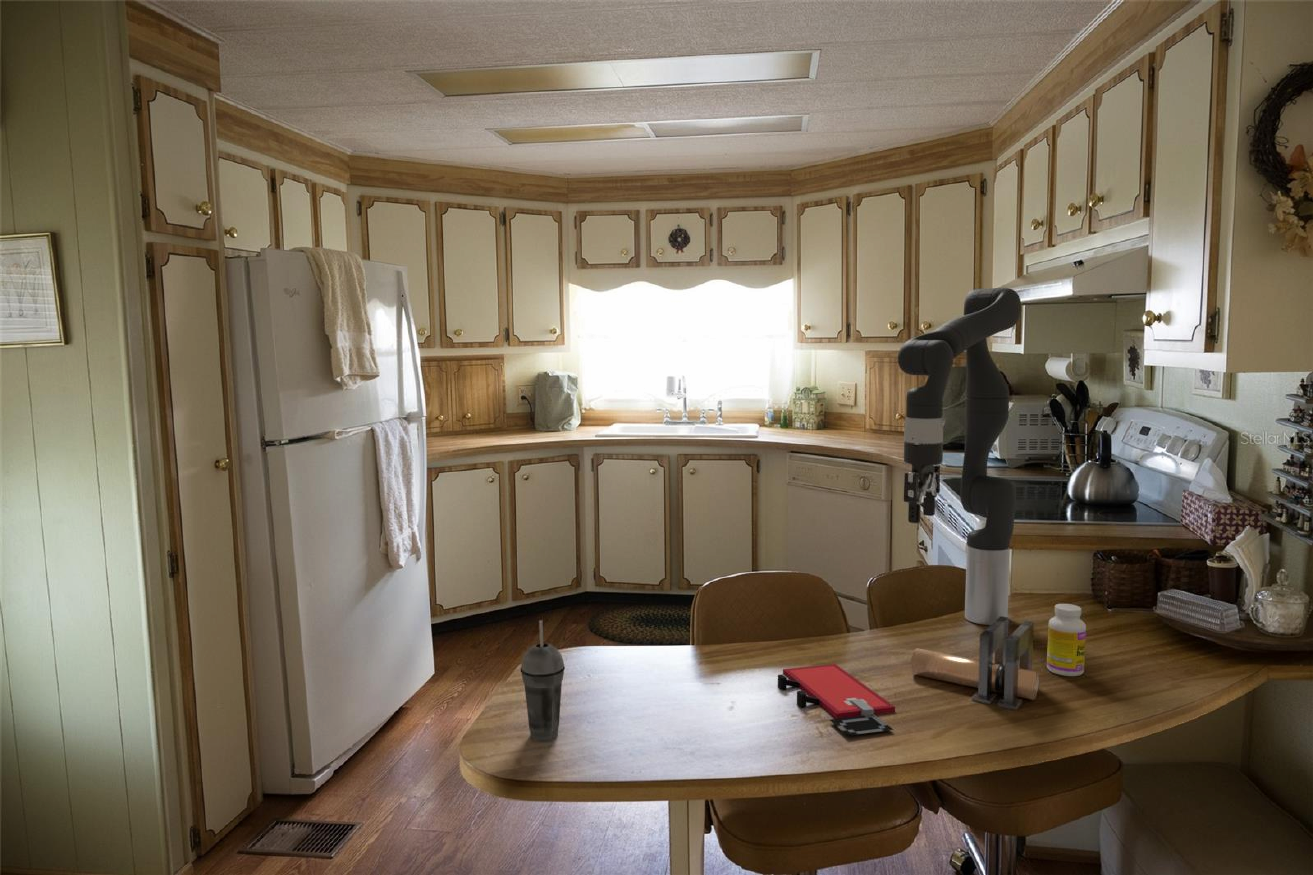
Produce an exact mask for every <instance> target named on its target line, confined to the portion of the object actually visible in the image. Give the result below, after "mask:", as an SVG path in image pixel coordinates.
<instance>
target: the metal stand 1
mask: <svg viewBox="0 0 1313 875" xmlns="http://www.w3.org/2000/svg"><path fill="white" fill-rule="evenodd" d="M1008 637H1009V617H1008V616H1007V617H1002V616H1000V617H999V618H998V619H997V620H996V621H995V622H994V623H993V624H991V625H988V627H987V628H986V629H984V630H983V631H982V632H981V633H980V635H979V658H978V660H979V683H978V688H977V689H978V690H977V691H975V693H974V694H973V695H972V696H971V701H973V702H977V703H978V702H979V703H981V704H988V705H991V704H992V703H993V701H994V700H995V699H996V698H997V693H996V692H994V693H993V691H992V663H993V658H994V663H995V664H1001V665H1005V657H1006V639H1007V638H1008ZM993 653H994V654H993ZM993 655H994V656H993Z"/></svg>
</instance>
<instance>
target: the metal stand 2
mask: <svg viewBox="0 0 1313 875" xmlns="http://www.w3.org/2000/svg"><path fill="white" fill-rule="evenodd" d="M1033 648H1034V621H1031V620H1024V621H1023V622H1022V623H1021V624H1020V625H1019V626H1018V627H1017V628H1016V629H1015V630H1014V631H1013V632H1012V633H1011V634H1010V635H1008V638H1007V639H1006V657H1005V686H1004V694H1003V696H1002V697H1001V698H1000V699H999V700H998V701H997V703H996V704H997V707H999V708H1005V709H1010V710H1014V711H1017V710H1018V708H1020V706H1022V704H1023V699H1022V698H1018V697H1017V692H1018V668H1020V669H1025V670H1031V671H1033Z"/></svg>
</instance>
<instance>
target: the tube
mask: <svg viewBox="0 0 1313 875" xmlns="http://www.w3.org/2000/svg"><path fill="white" fill-rule="evenodd" d="M910 659H911V660H910V671H911V672H910V673H912V675H915V676H920V677H925V678H928V679H934V680H937V681H942V682H943V681H944V682H948V683H951V684H952V683H953V684H957V685H961V686H966V687H971V688H976V689H978V683H979V659H973V658H969V657H965V656H964V657H963V656H958V655H954V654H953V655H952V654H949V653H948V654H947V653H943V652H938V651H933V650H927V649H923V648H915V649H914V651H913V652H912V655H911V658H910ZM1039 684H1040V681H1039V673H1038V671H1035V670H1032V671H1031V670H1025V669H1020V668H1019V667H1018V692H1017V698H1018V697H1019V698H1021V699H1022V698H1023V699H1027V700H1031V701H1034V700H1036V698H1037V694H1038V691H1039ZM1004 686H1005V665H1001V664H995V662H992V691H991V692H994V693H996V694H997V693H998V694H1003V695H1004Z"/></svg>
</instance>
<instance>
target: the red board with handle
mask: <svg viewBox="0 0 1313 875" xmlns="http://www.w3.org/2000/svg"><path fill="white" fill-rule="evenodd" d="M787 686H788V687H792V688H793V687H794V688H799V689H801V690H796V705H797V707H799V708H800V709H801V710H802V709H807V703H808V704H809V703H810V704H814V705H819V706H820V707H822V709H824V710H825V711H826V712H828V713H829V714H830V715H831V716H832V717H833V718H831V719H829V721H830V722H831V723H833V725H835V726H836V727H837V728H838V729H839V730H840V731H842V732H843V733H844V734H846V736H853V735H854V736H855V735H860V734H861V735H862V734H868V733H870V734H871V733H877V732H878V733H879V732H886V731H894V728H892V727H891V726H890V725H889V724H887V723H886V722H884V721H883V720H882V719H881V718H879V717H878V716H877V715H880V714H887V713H894V712H895V711H896V706H895V705H893V704H892V703H891V702H889V701H888V700H886V699H885V698H884V697H882V696H881V695H879V694H878V693H877V692H875V691H874V690H873V689H871V688H870V687H868V686H867V685H865V684H864V683H863V682H861V681H860V680H858V679H857V678H856V677H854V676H853V675H851V674H850V673H848V672H847V671H846V670H845V669H843V668H841V667H840V666H839V665H837V664H836V663H832V664H822V665H820V664H819V665H812V666H803V667H802V666H801V667H792V668H785V669H782V674H777V688H778V689H779V690H781V692H783V691H787Z"/></svg>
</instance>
